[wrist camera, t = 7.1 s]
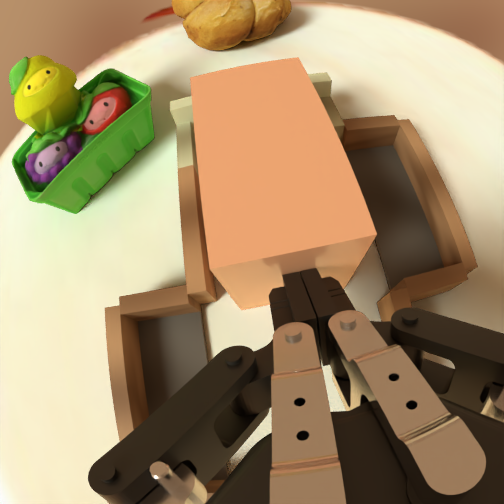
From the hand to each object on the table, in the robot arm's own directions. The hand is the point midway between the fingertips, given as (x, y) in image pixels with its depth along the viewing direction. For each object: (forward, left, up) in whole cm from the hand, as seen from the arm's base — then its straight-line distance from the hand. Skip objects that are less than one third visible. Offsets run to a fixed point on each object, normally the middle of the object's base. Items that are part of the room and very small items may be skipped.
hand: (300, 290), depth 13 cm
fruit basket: (-6, -19, -5) cm, 21 cm away
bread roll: (-27, -14, -5) cm, 30 cm away
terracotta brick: (-5, -3, -4) cm, 7 cm away
